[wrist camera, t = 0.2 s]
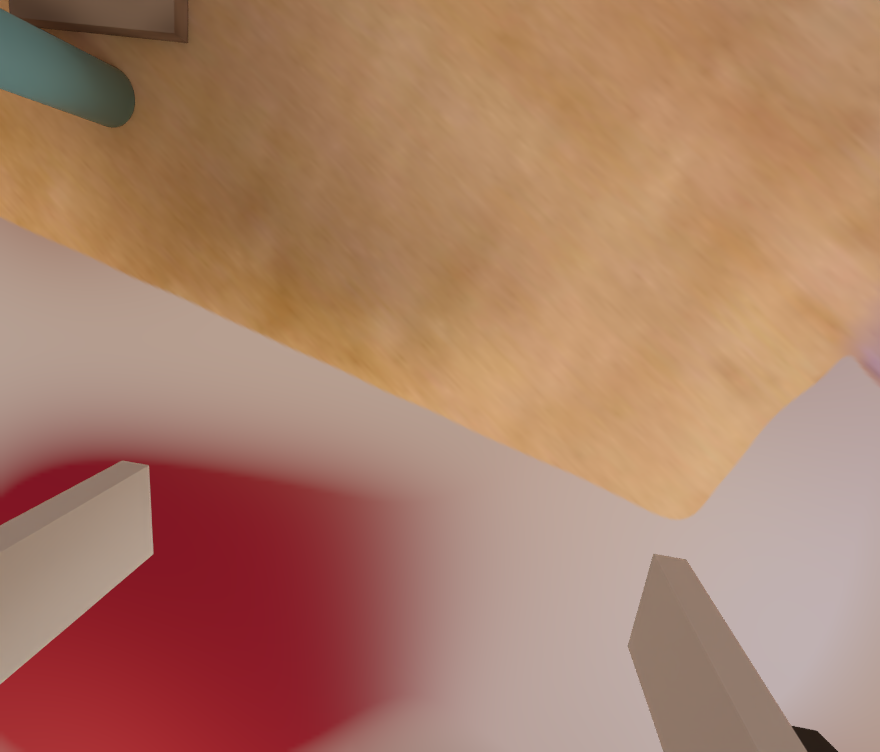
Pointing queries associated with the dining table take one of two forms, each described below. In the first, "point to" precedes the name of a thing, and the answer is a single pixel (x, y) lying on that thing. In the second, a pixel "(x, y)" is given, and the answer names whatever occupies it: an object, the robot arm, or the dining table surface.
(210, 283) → the dining table surface
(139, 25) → the brown cream striped panel
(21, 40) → the teal bottle with cap
